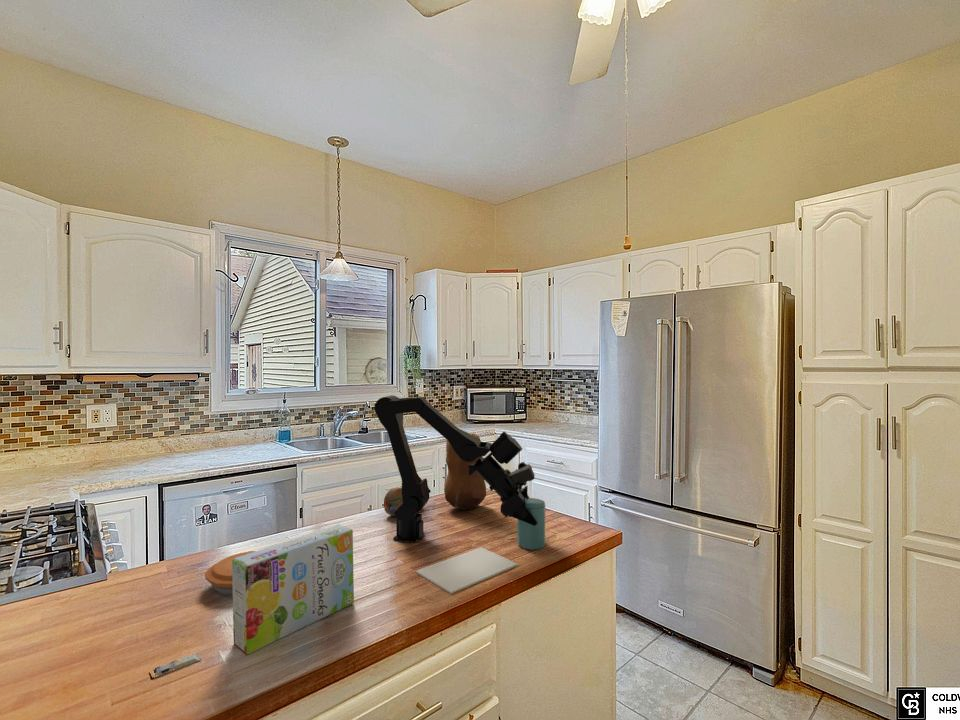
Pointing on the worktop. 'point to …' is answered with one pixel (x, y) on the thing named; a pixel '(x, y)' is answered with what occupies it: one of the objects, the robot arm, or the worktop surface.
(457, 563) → the grey mat
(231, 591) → the pie
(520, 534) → the teal cover
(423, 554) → the worktop surface
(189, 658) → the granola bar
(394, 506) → the tin
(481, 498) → the butternut squash
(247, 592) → the snack box
